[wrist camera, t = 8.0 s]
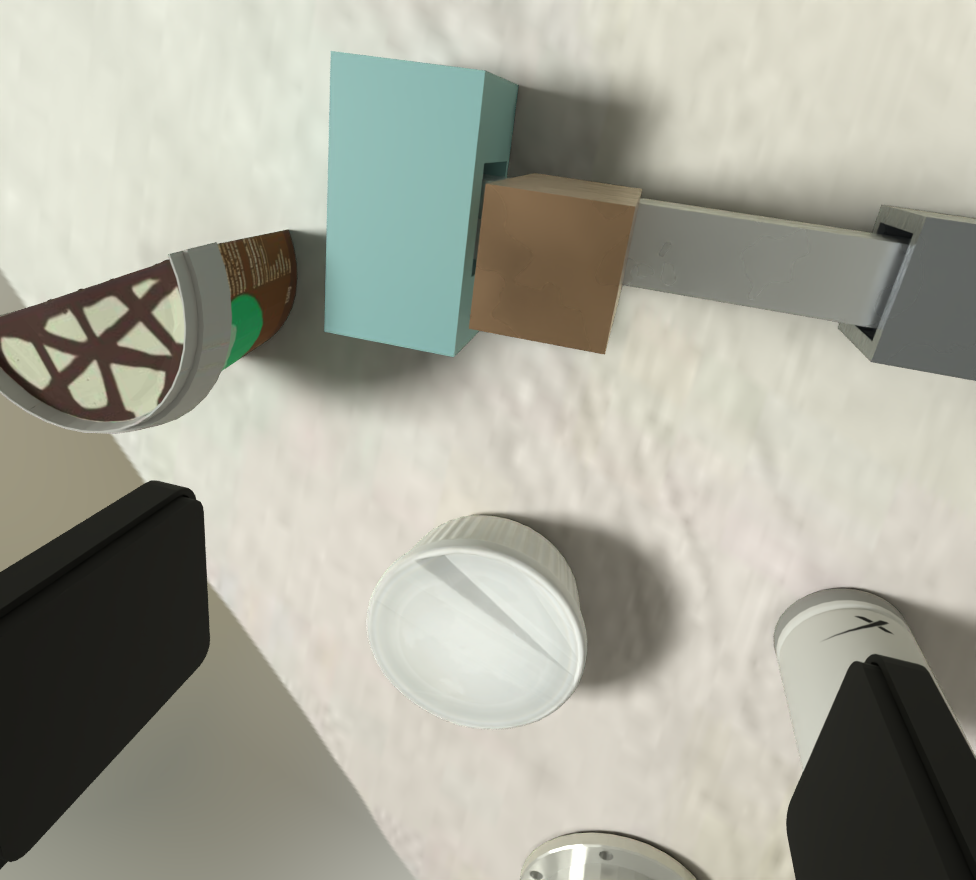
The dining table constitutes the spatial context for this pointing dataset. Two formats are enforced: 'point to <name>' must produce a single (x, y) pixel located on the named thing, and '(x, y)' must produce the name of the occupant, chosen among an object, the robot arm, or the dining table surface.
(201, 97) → the dining table surface
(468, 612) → the ramekin
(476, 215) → the socket block
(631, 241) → the multicoloured piece
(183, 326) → the food container
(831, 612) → the travel mug
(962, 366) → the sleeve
